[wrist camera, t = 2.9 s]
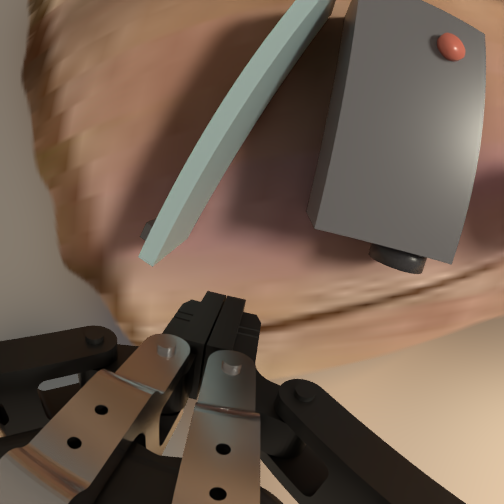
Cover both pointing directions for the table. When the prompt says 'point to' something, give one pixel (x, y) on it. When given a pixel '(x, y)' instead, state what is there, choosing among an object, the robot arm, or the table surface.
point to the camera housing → (401, 132)
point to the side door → (232, 126)
